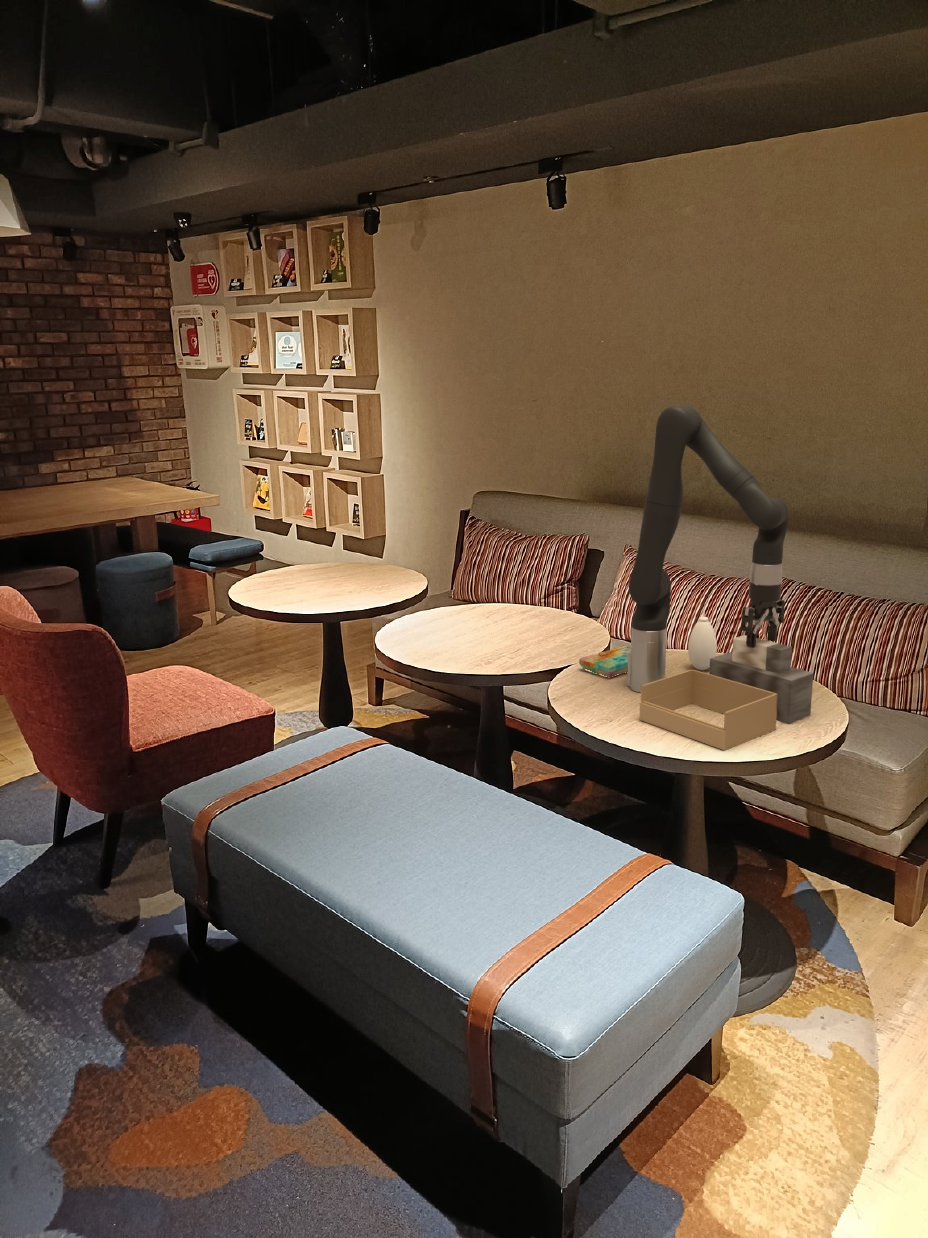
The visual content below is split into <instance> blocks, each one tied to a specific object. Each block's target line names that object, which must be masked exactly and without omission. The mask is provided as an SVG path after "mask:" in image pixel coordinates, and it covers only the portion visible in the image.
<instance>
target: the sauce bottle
mask: <svg viewBox="0 0 928 1238" xmlns="http://www.w3.org/2000/svg"><path fill="white" fill-rule="evenodd" d="M705 611H706V610H705V609H703V611H702V616H700V617H698V621H697V622H696V623H695V625H694V626H693V628H692V630H691V632H690V633H691V634H690V635H689V639H688V644H687V645H688V647H687V653H688V658H689V661H690V663H691V665H692V666H694V667H695V670H697V671H705V670H707V669H709V668H710V658H714V657H717V656H716V655H717V652H718V646H717V645H718V643H717V637H716V633H715V631H714V627H713V625H712V624H711V622H710V621H709V617H707V616H706V615H705V613H706V612H705Z"/></svg>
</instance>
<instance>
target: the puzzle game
mask: <svg viewBox="0 0 928 1238" xmlns="http://www.w3.org/2000/svg"><path fill="white" fill-rule="evenodd" d="M629 652H631V646H629V645H625V646H620V647H617V648H613V649H609V650H605V651H599V652H598V653H594V654H590V655H586V656H583V657H580V658H579V659H578V663H579V665H580V667H582V669H583V670H584V669H587V670H590V671H592V672H594V673H597V674H602V675H604V676H607V677H612V676H615V675H617V674H621V675H623V674H622V673H624V674H626V673H625V672H628V653H629ZM615 677H616V676H615ZM612 678H613V677H612Z"/></svg>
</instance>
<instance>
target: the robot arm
mask: <svg viewBox="0 0 928 1238" xmlns="http://www.w3.org/2000/svg"><path fill="white" fill-rule="evenodd" d="M654 435H655V437H654V449H653V450H654V451H653V452H654V453H653V461H652V467H651V471H650V476H649V482H648V486H647V492H646V496H645V501H644V502H645V503H644V508H643V513H642V522H641V527H640V533H639V540H638V548H637V553H636V557H635V561H634V564H633V568H632V571H631V574H630V577H629V581H628V592H629V596H630V598H631V599H632V601H634V603H635V604H636V605H635V610H634V613H633V614H632V616H631V631H630V632H631V635H630V637H631V638H630V640H631V643H630V647H631V652H629V653H628V673H627V679H626V680H627V687H628V686H629V687H628V688H630V690H632V691H634V692H636V693H640V694H641V685H644V684H648V683H651V682H654V681H657V680H660V679H663V678H666V664H667V663H666V660H667V659H666V658H667V656H666V655H667V632H668V631H667V629H668V628H667V625H668V620H669V617H670V613H671V612H670V609H671V595H672V582H671V578H670V576H669V574H668V571H667V570H665V569H664V562H665V558H666V554H667V551H668V549H669V546H670V544H671V543H672V540H673V538H674V536H675V533H676V531H677V529H678V525H679V522H680V517H681V513H682V509H683V508H682V507H683V502H684V485H683V475H682V465H683V458H684V454H685V449H686V447H688V448H689V449H691V450H692V451H693V452H694V453H695V454H697V456H698V457H700V459H701V460H702V461H703V463H704V464H705V465H706V467H707V469H708V470H709V472H710V473H711V475H712V476H713V478H714V480H715V481H716V482H717V483H718V484H719V486H720V487H721V488H722V489H724V490H725V492H727V494H728V495H729V496H731V497H732V499H734V500H735V501H736V502H737V503H738V506H740V508H741V510H742V511H743V512H744V514H745V515H746V517H747V518H748V519H749V520H750V521H751V523H752V524H754V525H755V526H756V527H758V530H757V531H758V532H757V537H756V539H755V540H754V542H753V546H752V554H751V555H752V557H751V559H752V560H751V567H750V571H749V572H750V573H749V584H748V585H749V586H748V587H749V589H748V599H750V600H751V602H752V603H751V606H750V607H749V606H744V607H743V608H742V615H741V623H740V631H742V632H746V636H747V638H746V645H747V647H750V648H755V647H756V638H757V631H758V630H759V627H761V626H762V625H763V623H765V622H766V623H767V624H768V626H767V638H766V639H767V641H770V642H774V643H775V642H776V641H777V637H778V628H779V627H780V624H783V623H784V622H785V605H786V604H785V603H786V601H785V600H784V599H782V598H781V597H782V586H783V583H782V582H783V557H784V542H785V537H786V533H787V530H788V525H789V516H790V515H789V514H790V512H789V507H788V504H787V503H786V502H785V500H783V499H781V498H779V497H770V496H768V495H767V494H766V493H765V491H764V490H763V489H762V488H761V485H762V484H761V483H760V481H759V480H758V479H757V477H756V476H754V475H753V474H752V473H751V472H750V471H749V469H747V468H746V467H745V466H744V465H743V464H742V463H741V462H740V461H739V460H738V459H737V458H736V457H735V456H734V455H733V454H732V453H731V452H730V451H729V450H728V448H727V447H725V445H724V444H723V443H722V442H721V441H720V440H719V438H718V437H717V436H716V435H715V434H714V432H713V431H712V430H711V428H710V427H709V425H708V424H707V423H706V421H705V420H704V418H703V417H702V416H701V414H700V413H699V412H698V411H697V409H695V408H694V407H693V406H691V405H684V404H679V405H677V404H676V405H671V406H668V407H666V408H664V409H663V410H662V411H661V413H660V414H659V416H658V418H657V421H656V427H655V434H654ZM778 614H779V616H778Z"/></svg>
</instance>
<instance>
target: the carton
mask: <svg viewBox="0 0 928 1238" xmlns="http://www.w3.org/2000/svg"><path fill="white" fill-rule="evenodd" d="M777 702H778V694H777V693H773V692H770V691H766V690H763V689H759V688H756V687H752V686H749V685H745V684H742V683H738V682H735V681H731V680H728V679H724V678H721V677H718V676H714V675H711V674H709V673H707V672H703V671H701V670H698V669H689V670H685V671H684V672H680V673H677V674H673V675H670V676H667V677H665V678H663V679H660V680H657V681H654V682H651V683H648V684H644V685H641V693H640V702H639V721H642V722H645V723H648V724H650V725H653V726H656V727H659V728H661V729H664V730H667V731H670V732H673V733H676V734H679V735H681V736H684V737H686V738H689V739H691V740H694V741H698V742H700V743H703V744H706V745H709V746H711V747H714V748H717V749H719V750H723V751H726V750H729V749H732V748H734V747H736V746H740V745H741V744H744V743H746V742H747V743H748V742H749V741H752V740H755V739H756V738H759V737H762V736H764V735H766V734H769V733H771V732H773V731H776V729H777V720H776V717H777ZM689 705H695V706H697V707H701V708H704V709H707V710H711V711H713V712H716V713H718V714H719V713H720V714H723V715H724V717H723V718H724V720H723V721H724V723H723V727H722V726H721V725H720V726H719V725H717V724H714V723H711V722H708V721H705V720H702V719H699V718H696V717H693V716H689V715H687V714H684V713H680V712H678V711H675V710H677V709H680V708H683V707H685V706H689Z"/></svg>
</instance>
